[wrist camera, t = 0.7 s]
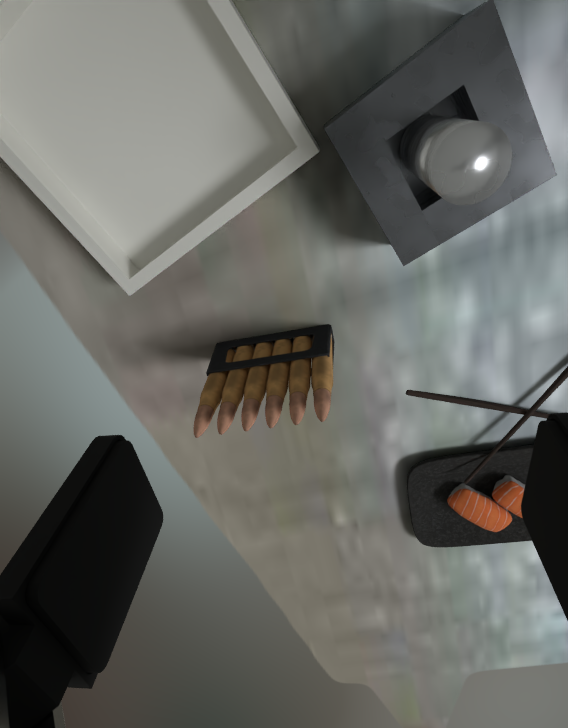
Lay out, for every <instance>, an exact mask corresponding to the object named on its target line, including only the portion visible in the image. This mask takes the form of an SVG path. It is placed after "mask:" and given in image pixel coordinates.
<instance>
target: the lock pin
mask: <svg viewBox="0 0 568 728" xmlns="http://www.w3.org/2000/svg"><path fill="white" fill-rule="evenodd" d="M400 157H401V160H402V162H403V164H404V166H405V167H406V168H407V169H408V170H409V171H410V172H411V173H413V174H414V175H415V176H416V177H418V178H419V179H420V180H421V181H422V182H424V183H425V184H426V185H427V186H428V187H430V188H431V189H432V190H433V191H435V192H436V193H437V194H438V195H439V196H441V197H442V198H443V199H444V200H446V201H447V202H450V203H452V204H455V205H472V204H475V203H478V202H481V201H483V200H484V199H486V198H488V197H489V196H491V195H492V194H493V193H494V192H495V191H496V190H497V189H498V188H499V187H500V186H501V184H502V183H503V182H504V180H505V178H506V176H507V174H508V172H509V169H510V166H511V161H512V149H511V144H510V141H509V139H508V137H507V135H506V134H505V132H504V131H503V130H502V129H500V128H499V127H498V126H496V125H494V124H491V123H488V122H481V121H474V120H467V119H459V118H452V117H445V116H437V115H427V116H423V117H421V118H419V119H417V120H416V121H414V122H413V123H412V124H411V125H410V126H409V127H408V128H407V129H406V131H405V133H404V135H403V137H402V139H401V143H400Z"/></svg>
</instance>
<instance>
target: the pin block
mask: <svg viewBox="0 0 568 728" xmlns="http://www.w3.org/2000/svg"><path fill="white" fill-rule="evenodd" d="M427 115H437V116H445V117H452V118H459V119H467V120H474V121H481V122H488V123H491V124H494V125H496V126H498V127H499V128H500V129H502V130H503V131H504V132H505V134H506V135H507V137H508V139H509V141H510V144H511V149H512V161H511V166H510V169H509V172H508V174H507V176H506V178H505V180H504V182H503V183H502V184H501V186H500V187H499V188H498V189H497V190H496V191H495V192H494V193H493V194H492V195H491V196H489V197H488V198H486V199H484V200H483V201H481V202H478V203H475V204H472V205H455V204H452V203H450V202H447V201H446V200H444V199H443V198H442V197H441V196H439V195H438V194H437V193H436V192H435V191H433V190H432V189H431V188H430V187H428V186H427V185H426V184H425V183H424V182H422V181H421V180H420V179H419V178H418V177H416V176H415V175H414V174H413V173H411V172H410V171H409V170H408V169H407V168H406V167H405V166H404V164H403V162H402V160H401V157H400V143H401V139H402V137H403V135H404V133H405V131H406V129H407V128H408V127H409V126H410V125H411V124H412V123H413V122H414V121H416V120H417V119H419V118H421V117H423V116H427ZM324 130H325V131H326V133H327V135H328V136H329V138H330V140H331V142H332V143H333V145H334V147H335V149H336V150H337V152H338V154H339V155H340V157H341V159H342V161H343V162H344V164H345V166H346V167H347V169H348V171H349V173H350V174H351V176H352V178H353V180H354V181H355V183H356V185H357V186H358V188H359V190H360V192H361V193H362V195H363V197H364V199H365V200H366V202H367V204H368V205H369V207H370V209H371V211H372V212H373V214H374V216H375V217H376V219H377V221H378V223H379V224H380V226H381V228H382V230H383V231H384V233H385V235H386V236H387V238H388V240H389V242H390V243H391V245H392V247H393V249H394V250H395V252H396V254H397V255H398V257H399V259H400V261H401V262H402V264H403V266H405V265H406V264H408V263H410V262H411V261H413V260H415V259H416V258H418V257H420V256H421V255H423V254H425V253H426V252H428V251H430V250H432V249H433V248H435V247H437V246H438V245H440V244H442V243H443V242H445V241H447V240H448V239H450V238H452V237H453V236H455V235H457V234H458V233H460V232H462V231H464V230H465V229H467V228H469V227H470V226H472V225H474V224H475V223H477V222H479V221H480V220H482V219H484V218H485V217H487V216H489V215H490V214H492V213H494V212H496V211H497V210H499V209H501V208H502V207H504V206H506V205H507V204H509V203H511V202H512V201H514V200H516V199H517V198H519V197H521V196H522V195H524V194H526V193H528V192H529V191H531V190H533V189H534V188H536V187H538V186H539V185H541V184H543V183H544V182H546V181H548V180H549V179H551V178H553V177H554V176H556V175H557V174H556V171H555V168H554V166H553V163H552V160H551V157H550V155H549V152H548V149H547V146H546V144H545V141H544V138H543V135H542V133H541V130H540V127H539V124H538V122H537V119H536V116H535V113H534V111H533V108H532V105H531V102H530V100H529V97H528V94H527V92H526V89H525V86H524V83H523V81H522V78H521V75H520V72H519V70H518V67H517V64H516V61H515V59H514V56H513V53H512V50H511V48H510V45H509V42H508V39H507V37H506V34H505V31H504V28H503V26H502V23H501V20H500V17H499V15H498V12H497V9H496V6H495V4H494V1H493V0H488V1H487V2H485V3H483V4H482V5H480V6H478V7H477V8H475V9H473V10H472V11H470V12H468V13H467V14H465V15H464V16H462V17H461V18H460V19H459V20H457V21H456V22H455V23H453V24H452V25H451V26H450V27H448V28H447V29H446V30H444V31H443V32H442V33H441V34H439V35H438V36H437V37H436V38H434V39H433V40H432V41H430V42H429V43H428V44H427V45H425V46H424V47H423V48H421V49H420V50H419V51H418V52H416V53H415V54H414V55H413V56H411V57H410V58H409V59H407V60H406V61H405V62H404V63H402V64H401V65H400V66H398V67H397V68H396V69H395V70H393V71H392V72H391V73H390V74H388V75H387V76H386V77H384V78H383V79H382V80H381V81H379V82H378V83H377V84H376V85H374V86H373V87H372V88H370V89H369V90H368V91H367V92H365V93H364V94H363V95H361V96H360V97H359V98H358V99H356V100H355V101H354V102H353V103H351V104H350V105H349V106H347V107H346V108H345V109H344V110H342V111H341V112H340V113H338V114H337V115H336V116H335V117H333V118H332V119H331V120H330V121H328V122H327V123H326V124H324Z"/></svg>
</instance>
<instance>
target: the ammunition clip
mask: <svg viewBox="0 0 568 728" xmlns="http://www.w3.org/2000/svg"><path fill="white" fill-rule="evenodd" d="M311 358H312V368H311ZM333 358H334V338H333V332H332V327H331V325H329V324H328V325H322V326H316V327H310V328H304V329H298V330H292V331H286V332H280V333H274V334H268V335H263V336H257V337H251V338H245V339H239V340H233V341H227V342H221V343H217V344H216V347H215V350H214V352H213V355H212V358H211V361H210V364H209V367H208V369H207V372H206V374H207V376H208V378H207V381H206V383H205V386H204V388H203V391H202V393H201V397H200V404H199V407H198V411H197V414H196V417H195V421H194V435H195V437H196V438H198V437H199V436H201V435H202V434H203V432H204V431H205V430H206V429H207V427H208V425H209V424H210V422H211V419H212V417H213V415H214V413H215V410H216V408H217V407H218V405H219V404H220V402H221V399H222V402H221V406H220V410H219V414H218V421H217V425H218V432H219V434H220V435H222V434H223V433H225V432H226V431H227V429H228V428H229V427H230V425H231V423H232V421H233V419H234V416H235V413H236V411H237V408H238V405H239V404H240V402H241V401H242V398H243V395H244V402H243V408H242V426H243V429H244V431H248V430H249V429H250V428H251V427H252V425H253V424H254V422H255V420H256V417H257V415H258V411H259V408H260V405H261V401H262V400H263V398H264V395H265V392H266V393H267V397H266V408H265V414H266V421H267V425H268V426H269V428H273V427H274V426H275V424H276V423H277V421H278V419H279V417H280V414H281V411H282V405H283V402H284V397H285V395H286V393H287V389H288V381H289V392H290V403H289V406H290V415H291V419H292V421H293V423H294V424H295V425H298V424H299V423H300V421H301V420H302V418H303V415H304V412H305V408H306V400H307V395H308V391H309V389H310V377H311V384H312V388H313V396H314V407H315V411H316V414H317V417H318V419H319V420H320V421H321V422H323V421H324V420H325V419H326V418H327V415H328V413H329V409H330V402H331V389H332V386H333Z"/></svg>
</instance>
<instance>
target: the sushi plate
mask: <svg viewBox="0 0 568 728" xmlns="http://www.w3.org/2000/svg"><path fill="white" fill-rule="evenodd" d="M567 377H568V367H567V368H566V369H565V370H564V371H563V372H562V373H561V375H560V376H559V377H558V378H557V379H556V380H555V381H554V382H553V384H552V385H551V386H550V387H549V388H548V389H547V390H546V391H545V393H544V394H543V395H542V396H541V397H540V398H539V399H538V400H537V401H536V403H535V404H534V405H533V406H532V407H531V408H530V409H529V410H526V409H521V408H516V407H511V406H506V405H501V404H496V403H490V402H485V401H480V400H475V399H469V398H463V397H456V396H449V395H442V394H435V393H428V392H421V391H413V390H407V391H406V394H407V395H410V396H416V397H421V398H427V399H433V400H439V401H445V402H451V403H457V404H462V405H468V406H474V407H480V408H486V409H493V410H499V411H505V412H511V413H517V414H523V415H524V416H523V417H522V418H521V419H520V420H519V421H518V422H517V424H516V425H515V426H514V427H513V428H512V429H511V430H510V431H509V432H508V433H507V435H506V436H505V437H504V438H503V439H502V440H501V441H500V442H499V443H498V444H497V445H496V447H495V448H494V449H493V450H488V451H480V452H472V453H465V454H457V455H450V456H444V457H438V458H433V459H429V460H425V461H422V462H420V463H418V464H416V465H414V466H413V467H412V468H411V470H410V472H409V474H408V479H407V490H408V500H409V507H410V513H411V519H412V524H413V529H414V532H415V535H416V537H417V539H418V540H419V541H420V542H421V543H422V544H423V545H426V546H431V547H458V546H471V545H484V544H496V543H508V542H520V541H532V539H531V537H530V534H529V532H528V530H527V528H526V525H525V523H524V521H523V518H522V513H521V502H522V498H523V493H524V489H525V484H526V479H527V475H528V470H529V466H530V461H531V456H532V452H533V447H534V445H528V446H520V447H512V448H504V449H500V448H501V447H502V446H503V445H504V444H505V442H506V441H507V440H508V439H509V438H510V437H511V436H512V435H513V434H514V433H515V432H516V431H517V430H518V429H519V428H520V427H521V425H522V424H523V423H524V422H525V421H526V420H527V419H528V418H529V417H530V416H536V417H542V418H548V416H549V415H550V414H547V413H542V412H537V411H536V410H537V409H538V408H539V406H540V405H541V404H542V403H543V402H544V401H545V400H546V399H547V398H548V397H549V396H550V395H551V394H552V393H553V392H554V391H555V390H556V389H557V388H558V387H559V386H560V385H561V384H562V383H563V382H564V381H565V379H566V378H567Z"/></svg>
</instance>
